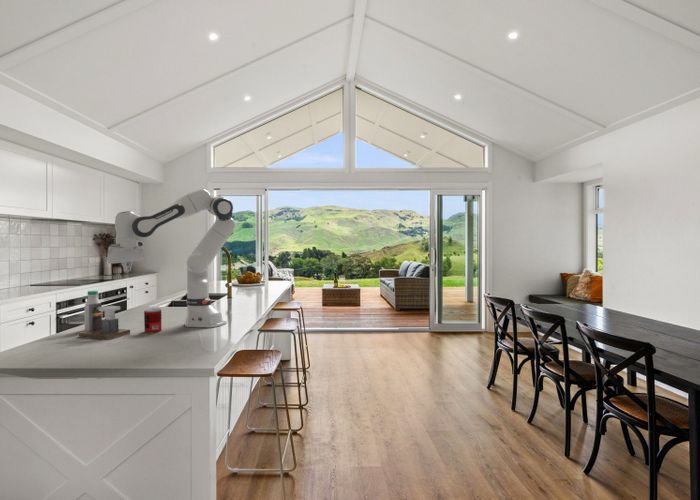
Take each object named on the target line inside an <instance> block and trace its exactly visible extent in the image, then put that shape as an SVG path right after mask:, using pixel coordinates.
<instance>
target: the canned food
mask: <svg viewBox="0 0 700 500" xmlns="http://www.w3.org/2000/svg"><path fill="white" fill-rule="evenodd" d="M143 317H144V318H143V320H144V322H143V325H144V332H145V333H147V334H151V333H152V334H155V333H160V332H161V331H162V309H161V308H157V307H155V308H147V309H144V311H143Z"/></svg>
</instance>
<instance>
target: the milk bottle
mask: <svg viewBox="0 0 700 500" xmlns="http://www.w3.org/2000/svg"><path fill="white" fill-rule="evenodd" d="M95 303H101V301H100V299H99V291H98V290H89V291H87V300H86V303H85V304H84V314H83V315H84V331H89V304H95ZM101 307H103V306H102V305H101ZM101 312H102V313H103V311H101ZM101 320H103V315H101Z"/></svg>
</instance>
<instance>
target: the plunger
mask: <svg viewBox="0 0 700 500" xmlns="http://www.w3.org/2000/svg"><path fill="white" fill-rule="evenodd" d="M96 310H99V311H102V312H104V319H105V320H114V319H116V311H121V306H119V305H108V306H102V307H96Z"/></svg>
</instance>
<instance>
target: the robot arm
mask: <svg viewBox="0 0 700 500" xmlns="http://www.w3.org/2000/svg"><path fill="white" fill-rule="evenodd" d="M205 210H207V211H208V212H209V213H210V214H211V215H212V216H215V221H214V223H213V224H212V225H211V227H210V228H209V229H208V230H207V233H205V234H204V236H203V238H202V239H201V240H200V241H199V243H198V244H197V246H196V247H195V248H194V250H193V251H192V252H191V254H190V255H189V256H188V257H187V260H186V280H187V281H186V286H187V288H186V293H187V294H186V296H187V298H186V307H187V308H186V314H185V320H184V321H185V322H184V325H185V327H188V328H217V327H220V326H224V325H226V324H228V321H227V320H223V314H222V312H221V311H220V310H219V309H218V308H217V307H215V306H214V305H213V303H212V302H213V301H214V299H211V298H210V295H209V294H210V292H209V290H210V288H209V267H210V265H211V264H212V262H213V261H214V259H215V258H216V257H217V255H218V254H219V252H220V251H221V249H222V248H223V247H224V245H225V244H226V243H227V241H228V239H230V237H231V235H232V234H233V233H234V229H235V228H236V226H237V225H236V221H235V219H234V218H233V212H234V211H233V210H234V205H233V203H232V201H231V200H230V199H229V198H227V197H224V196H212V194H211V193H210V192H209V190H207V189H205V188H204V189H203V188H201V189H197V190H194V191H192V192H189V193H187V194H184V195H183V196H181V197H180V198H178V199H176V200H175V201H174V202H173V203H172V204H171V205H169V206H168V207H167V208H165V209H163V210H161V211H158V212H157V213H155V214H153V215H148V216H146V215H144V216H141V215H139V214H136V213H135V212H133V211H130V210H129V211H121V212H118V213H117V214H116V215H115V218H114V230H115V233H116V234H115V244H113V243H111V244H109V246H108V247H107V256H106V257H107V258H106V259H107V260H106V261H107V264H121V266H122V268H123V272H131V271H132V267H133V264H134V262H141V261H145V259H146V251H145V248H144V246H145V242H143V241H140V240H138V239H136V236H137V237H140V238H148V237H150V236H152V235H153V233H154V232H155V231H156V230H157V229H158V228H159V227H161V226H163V225H166V224H167V223H169V222H171V221H173V220H177V219H185V218H189V217H192V216H194V215H196V214H199V213H200V212H202V211H205Z"/></svg>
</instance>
